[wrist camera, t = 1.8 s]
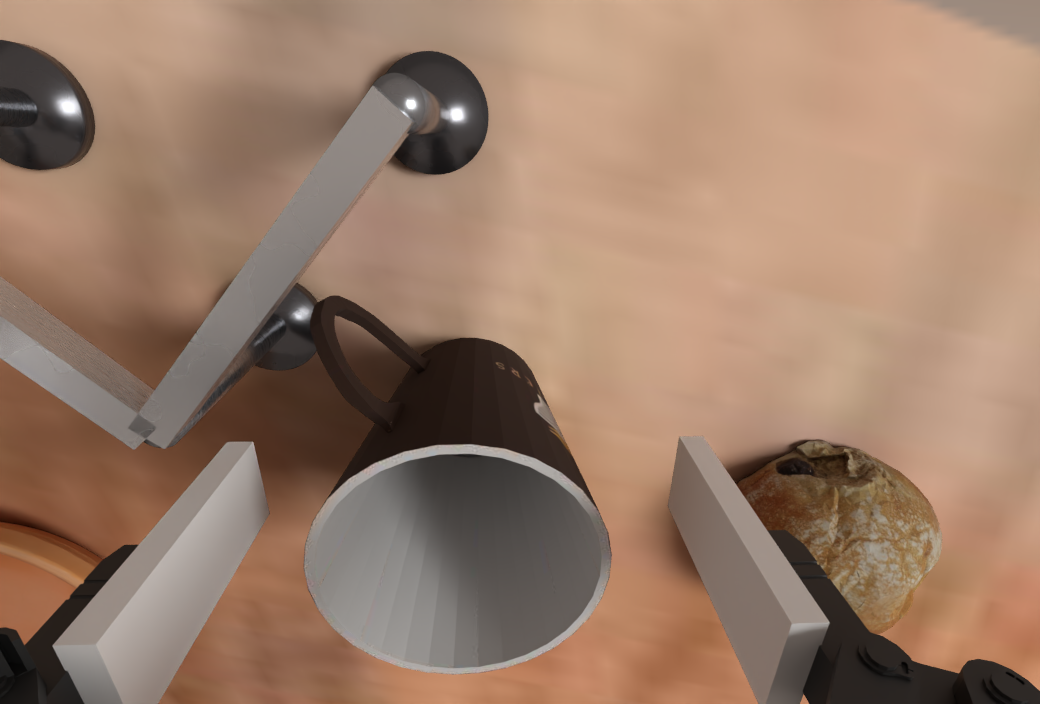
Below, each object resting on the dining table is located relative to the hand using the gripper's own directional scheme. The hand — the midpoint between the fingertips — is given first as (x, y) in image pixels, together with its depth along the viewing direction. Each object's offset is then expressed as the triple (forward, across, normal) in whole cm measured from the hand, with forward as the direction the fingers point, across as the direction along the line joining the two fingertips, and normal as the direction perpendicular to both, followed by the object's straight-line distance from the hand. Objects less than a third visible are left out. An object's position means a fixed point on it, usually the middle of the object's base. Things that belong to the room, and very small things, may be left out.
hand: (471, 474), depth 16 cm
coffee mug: (+8, 0, 0) cm, 8 cm away
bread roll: (+8, +18, -9) cm, 21 cm away
